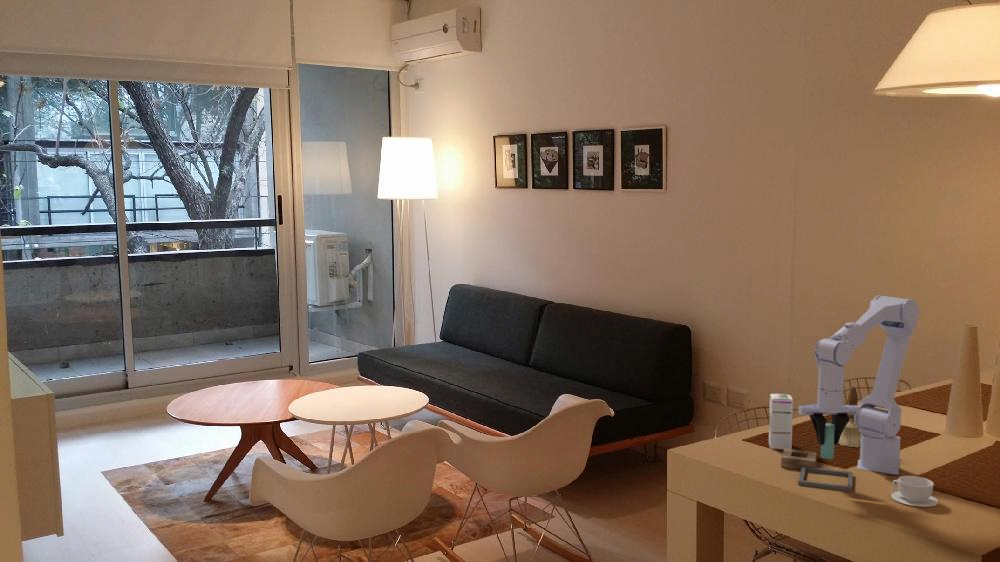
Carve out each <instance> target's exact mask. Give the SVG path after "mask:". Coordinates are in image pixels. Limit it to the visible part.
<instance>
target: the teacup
mask: <svg viewBox="0 0 1000 562" xmlns="http://www.w3.org/2000/svg"><path fill="white" fill-rule="evenodd" d="M895 483H896V484H897V485H898V487H897V486H896V484H895ZM891 484H892V488H893V489H894V490H895V492H894V491H893V492H892V493H891V494H890V497H891V498H892V499H893V500H894V501H896V502H898V503H900V504H903V505H908V506H913V507H920V508H930V507H935V506H937V505H939V503H940V501H939V500H938V499H937V498H935V496H932V494H933V489H934V485H935V484H934V482H933V481H932V480H930V479H929V478H925V477H922V476H915V475H903V476H899V478H898V479H894V480H893V481H892V483H891Z"/></svg>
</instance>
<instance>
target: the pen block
mask: <svg viewBox="0 0 1000 562" xmlns="http://www.w3.org/2000/svg"><path fill="white" fill-rule="evenodd" d="M817 453H818V452H817V451H811V450H801V449H793V448H792V449H786V448H784V449H783V451H782V455H781V462H780V463H781V464H780V467H781V468H787V469H796V470H801V468H802V466H807V467H815V468H816V465H817V455H818V454H817Z"/></svg>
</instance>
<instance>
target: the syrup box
mask: <svg viewBox="0 0 1000 562" xmlns="http://www.w3.org/2000/svg"><path fill="white" fill-rule="evenodd" d="M793 408H794V399H793V397H792V395H791V394H787V393H770V395H769V417H768V418H769V422H768V426H769V427H768V445H769V448H770V449H772V450H784V448H786V449H793V448H792V447H793V446H792V444H793V421H794V420H793V419H794V418H793V417H794V416H793V414H794V413H793V412H794V409H793Z"/></svg>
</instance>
